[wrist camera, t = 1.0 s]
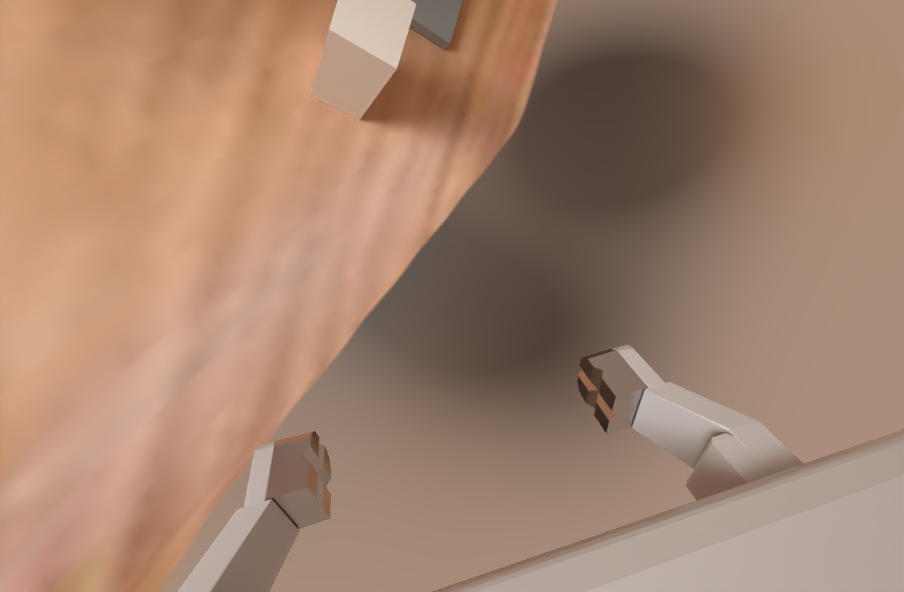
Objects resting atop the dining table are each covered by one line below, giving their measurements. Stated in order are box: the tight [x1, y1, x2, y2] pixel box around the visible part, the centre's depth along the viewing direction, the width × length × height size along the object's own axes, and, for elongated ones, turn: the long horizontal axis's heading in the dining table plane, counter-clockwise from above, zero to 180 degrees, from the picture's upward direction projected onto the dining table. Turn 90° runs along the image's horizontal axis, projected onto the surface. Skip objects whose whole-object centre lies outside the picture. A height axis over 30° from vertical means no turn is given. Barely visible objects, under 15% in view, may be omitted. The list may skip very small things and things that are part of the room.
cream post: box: [311, 0, 416, 120], centre depth 32 cm, size 5×5×13 cm
